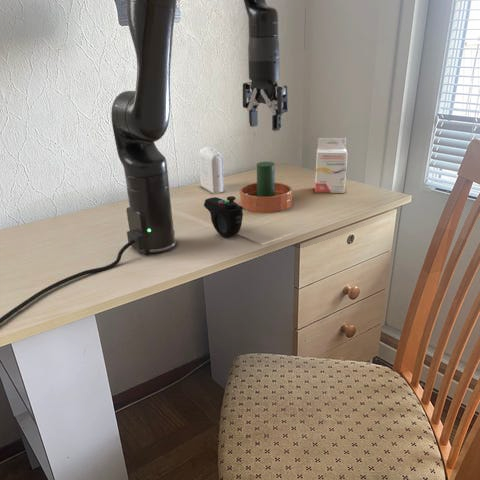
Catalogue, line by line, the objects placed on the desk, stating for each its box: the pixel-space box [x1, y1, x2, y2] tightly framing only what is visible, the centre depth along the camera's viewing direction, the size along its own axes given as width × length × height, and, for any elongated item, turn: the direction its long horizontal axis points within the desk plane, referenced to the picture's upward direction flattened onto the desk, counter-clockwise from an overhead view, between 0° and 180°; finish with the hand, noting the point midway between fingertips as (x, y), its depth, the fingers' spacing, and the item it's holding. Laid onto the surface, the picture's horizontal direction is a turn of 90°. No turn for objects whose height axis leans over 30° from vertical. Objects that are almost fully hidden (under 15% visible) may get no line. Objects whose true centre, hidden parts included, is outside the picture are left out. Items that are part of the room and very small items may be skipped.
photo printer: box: [198, 146, 225, 194], centre depth 155 cm, size 10×4×12 cm, turn 28°
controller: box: [203, 195, 245, 238], centre depth 123 cm, size 4×12×10 cm, turn 37°
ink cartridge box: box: [314, 137, 348, 194], centre depth 149 cm, size 9×5×15 cm, turn 84°
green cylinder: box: [256, 161, 276, 197], centre depth 140 cm, size 5×5×11 cm
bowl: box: [239, 181, 293, 214], centre depth 142 cm, size 14×14×4 cm
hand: (265, 128), depth 133 cm, fingers open, 8 cm apart
